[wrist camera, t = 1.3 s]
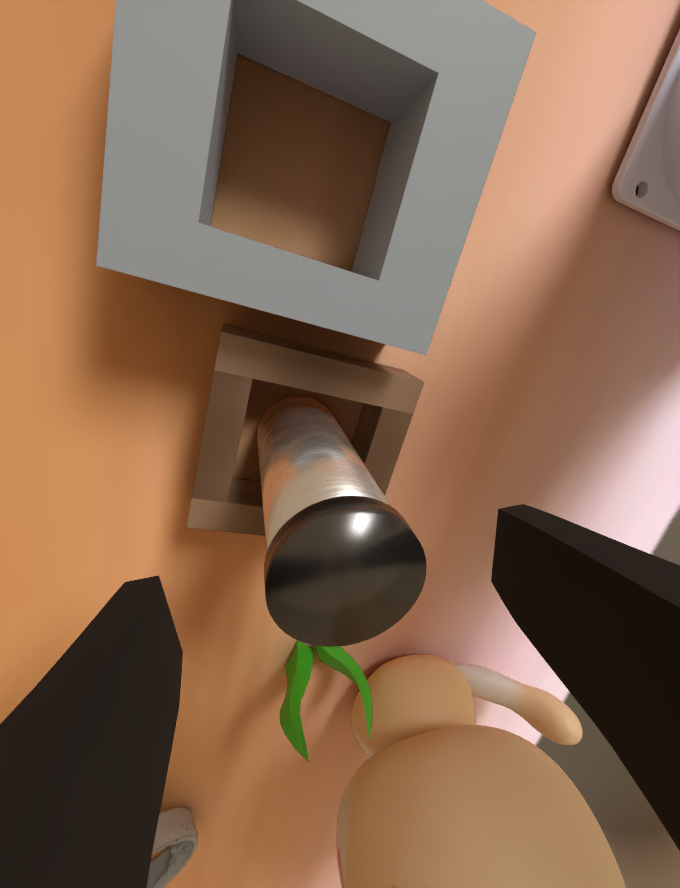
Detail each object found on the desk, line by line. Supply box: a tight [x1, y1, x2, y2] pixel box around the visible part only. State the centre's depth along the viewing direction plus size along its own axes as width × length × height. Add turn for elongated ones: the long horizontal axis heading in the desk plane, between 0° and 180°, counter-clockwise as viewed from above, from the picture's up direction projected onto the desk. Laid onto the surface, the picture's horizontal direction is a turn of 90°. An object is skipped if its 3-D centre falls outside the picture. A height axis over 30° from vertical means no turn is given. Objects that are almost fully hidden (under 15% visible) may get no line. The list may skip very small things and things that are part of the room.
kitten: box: [280, 640, 626, 888], centre depth 16 cm, size 15×10×15 cm
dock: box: [96, 0, 536, 355], centre depth 11 cm, size 9×8×4 cm
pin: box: [257, 396, 426, 647], centre depth 12 cm, size 3×3×9 cm
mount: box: [187, 325, 424, 536], centre depth 15 cm, size 7×7×2 cm
